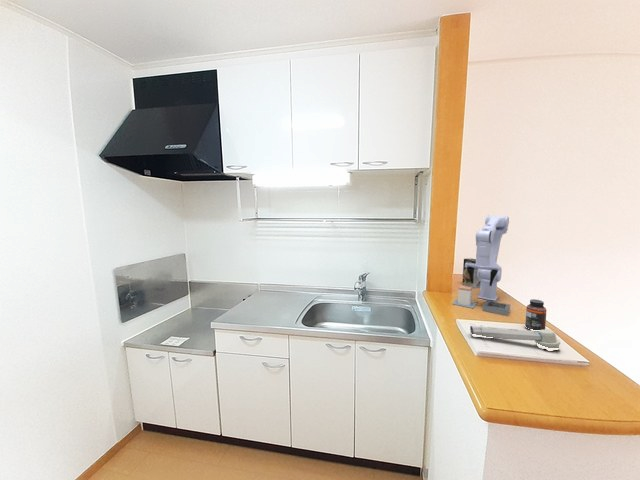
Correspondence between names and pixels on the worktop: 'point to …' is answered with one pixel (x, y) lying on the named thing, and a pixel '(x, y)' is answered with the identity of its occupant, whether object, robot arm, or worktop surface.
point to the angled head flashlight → (518, 335)
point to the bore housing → (496, 307)
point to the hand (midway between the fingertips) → (481, 284)
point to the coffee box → (466, 276)
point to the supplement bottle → (535, 315)
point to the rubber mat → (465, 305)
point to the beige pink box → (465, 295)
